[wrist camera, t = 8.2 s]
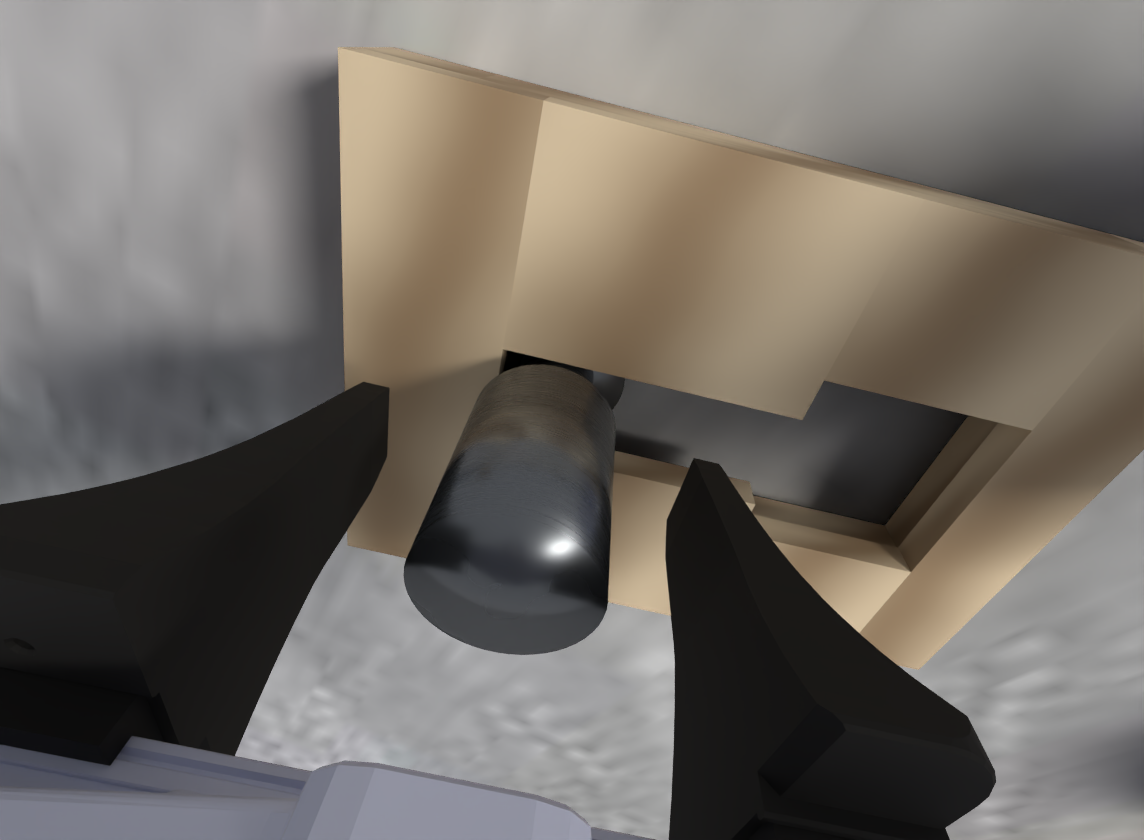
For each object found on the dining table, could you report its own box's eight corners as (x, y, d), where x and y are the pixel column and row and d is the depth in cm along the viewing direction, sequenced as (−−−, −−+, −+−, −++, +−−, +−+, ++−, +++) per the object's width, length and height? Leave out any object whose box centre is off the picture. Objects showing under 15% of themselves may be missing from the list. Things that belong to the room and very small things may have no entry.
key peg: (637, 307, 16) (642, 531, 9) (612, 420, 18) (598, 675, 11) (501, 283, 16) (387, 487, 9) (492, 399, 18) (396, 640, 11)
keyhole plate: (1181, 252, 14) (1300, 296, 11) (886, 598, 22) (918, 669, 19) (393, 47, 13) (338, 47, 11) (381, 486, 21) (347, 545, 18)
